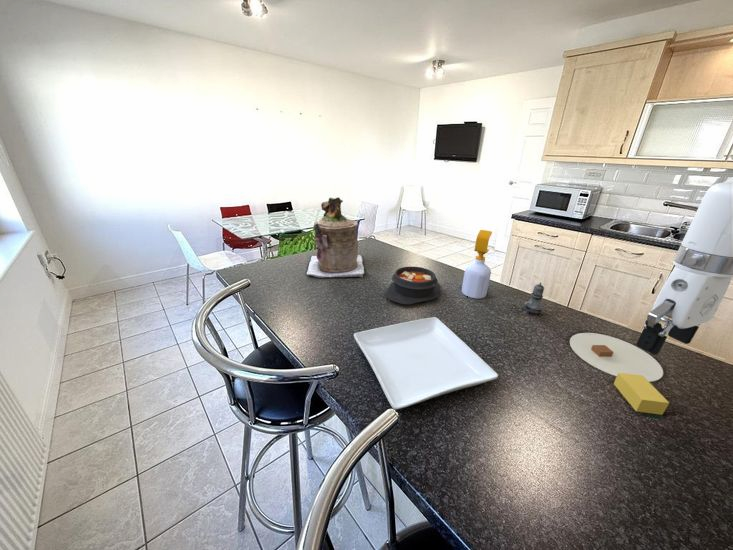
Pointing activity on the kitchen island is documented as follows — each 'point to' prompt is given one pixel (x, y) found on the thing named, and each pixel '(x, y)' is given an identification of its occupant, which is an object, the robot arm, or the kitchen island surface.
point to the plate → (616, 356)
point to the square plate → (421, 361)
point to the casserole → (413, 285)
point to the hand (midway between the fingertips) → (662, 344)
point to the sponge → (641, 394)
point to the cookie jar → (335, 244)
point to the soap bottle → (478, 269)
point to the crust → (602, 350)
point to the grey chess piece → (535, 301)
